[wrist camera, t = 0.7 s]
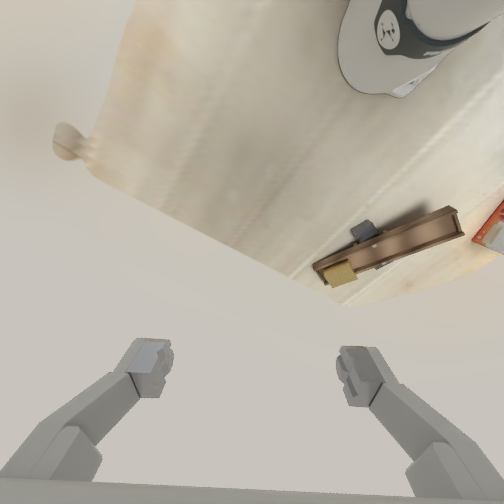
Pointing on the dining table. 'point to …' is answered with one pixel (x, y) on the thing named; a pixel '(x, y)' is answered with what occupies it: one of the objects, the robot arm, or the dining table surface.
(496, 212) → the cracker box
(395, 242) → the beam
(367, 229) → the fulcrum
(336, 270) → the rider
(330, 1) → the dining table surface
